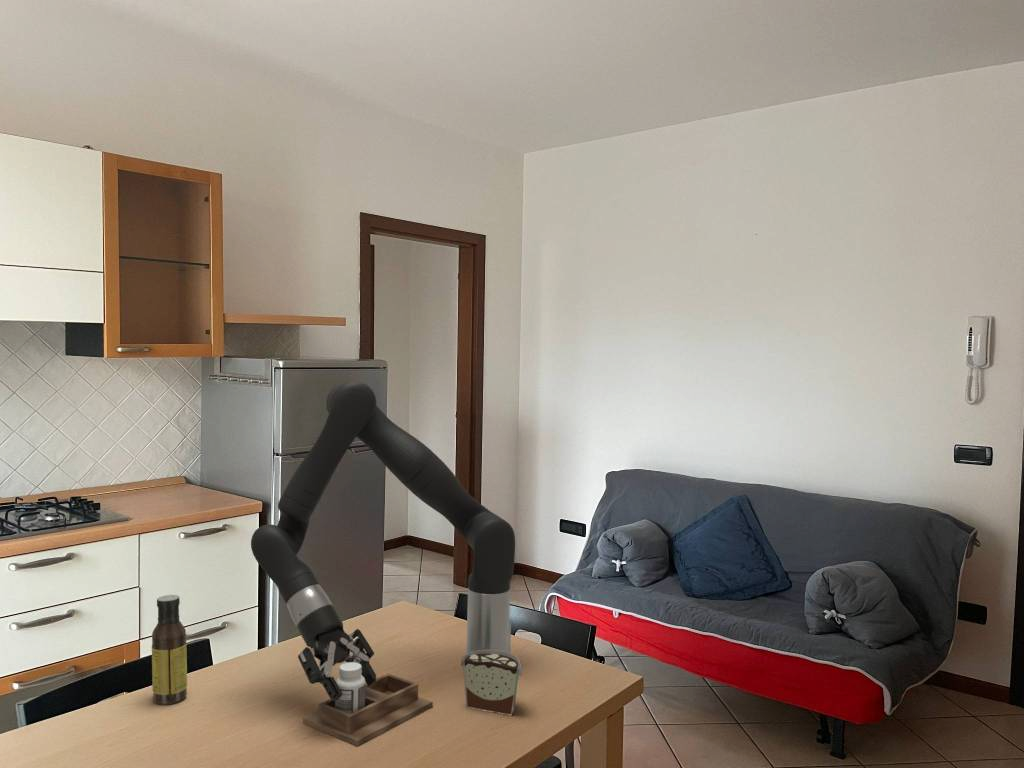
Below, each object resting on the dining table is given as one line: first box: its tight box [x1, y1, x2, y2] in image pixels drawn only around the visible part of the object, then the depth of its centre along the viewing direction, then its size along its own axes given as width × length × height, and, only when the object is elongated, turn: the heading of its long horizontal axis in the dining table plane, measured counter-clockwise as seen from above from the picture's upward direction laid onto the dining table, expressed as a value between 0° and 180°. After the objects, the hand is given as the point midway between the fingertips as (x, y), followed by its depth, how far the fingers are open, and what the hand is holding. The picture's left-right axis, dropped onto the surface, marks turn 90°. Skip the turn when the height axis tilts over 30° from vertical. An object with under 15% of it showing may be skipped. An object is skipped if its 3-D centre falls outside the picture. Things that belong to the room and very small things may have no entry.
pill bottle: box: [335, 662, 366, 714], centre depth 147 cm, size 5×5×10 cm
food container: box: [460, 650, 523, 716], centre depth 157 cm, size 12×6×10 cm, turn 71°
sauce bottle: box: [151, 594, 188, 706], centre depth 155 cm, size 6×6×20 cm
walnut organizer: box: [302, 673, 434, 747], centre depth 151 cm, size 20×14×4 cm
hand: (356, 690), depth 146 cm, fingers open, 8 cm apart
